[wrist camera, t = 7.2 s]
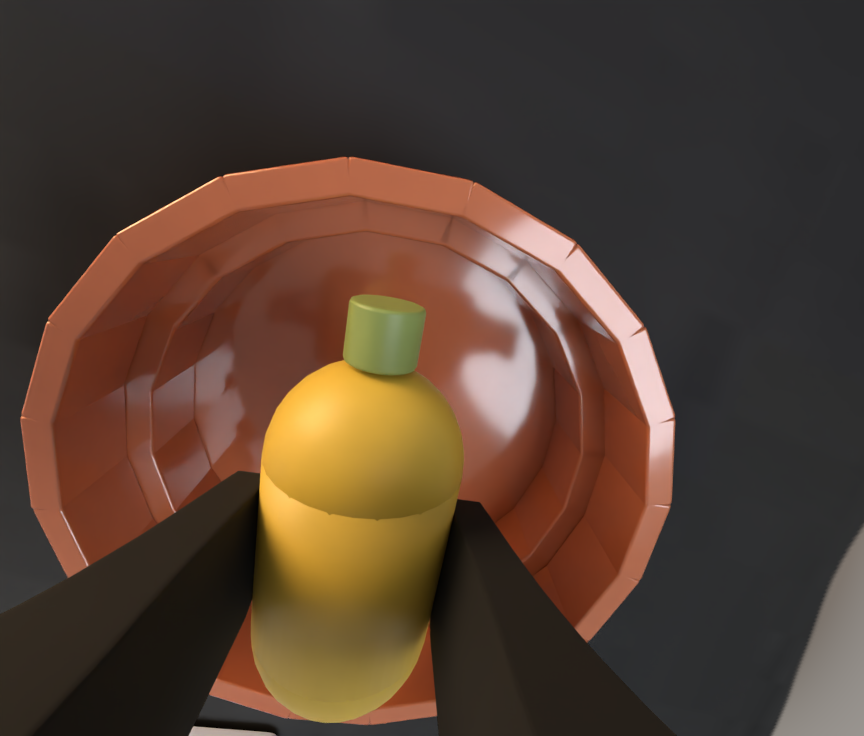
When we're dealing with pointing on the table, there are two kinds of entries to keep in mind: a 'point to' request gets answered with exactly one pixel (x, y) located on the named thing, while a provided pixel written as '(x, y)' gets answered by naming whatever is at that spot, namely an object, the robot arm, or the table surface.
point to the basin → (323, 344)
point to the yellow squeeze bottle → (353, 520)
